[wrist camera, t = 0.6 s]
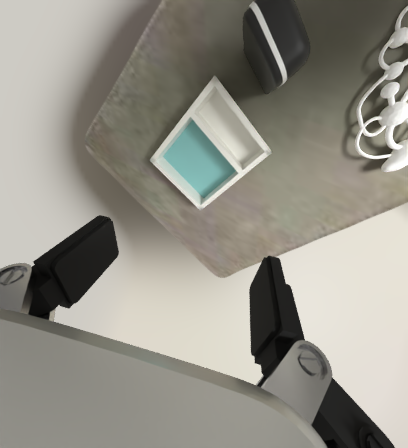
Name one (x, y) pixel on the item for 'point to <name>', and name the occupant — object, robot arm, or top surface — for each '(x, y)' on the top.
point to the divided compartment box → (210, 147)
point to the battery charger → (274, 41)
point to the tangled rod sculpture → (395, 111)
